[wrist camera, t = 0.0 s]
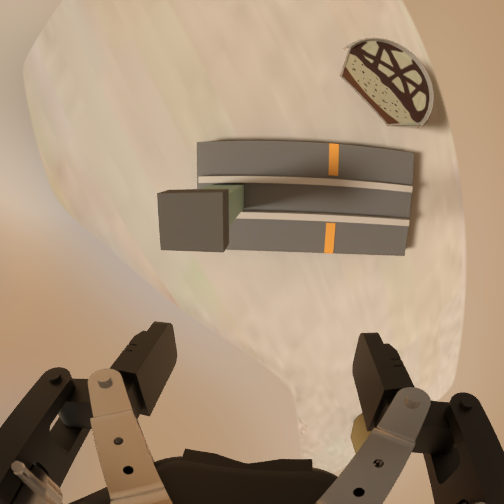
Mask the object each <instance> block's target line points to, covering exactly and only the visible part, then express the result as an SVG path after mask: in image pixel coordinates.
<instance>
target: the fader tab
mask: <svg viewBox="0 0 504 504" xmlns="http://www.w3.org/2000/svg"><path fill="white" fill-rule="evenodd" d="M157 197H158V216H159V231H160V244H161V250H175V251H203V252H224V251H225V249H226V248H227V246H228V244H229V227H230V225H231V224H232V223H233V221H234V220H235V219H236V218H237V216H238V215H239V214H240V213H241V211H242V210H243V209H244V185H210V186H207V187H204V188H201V189H193V190H167V191H164V192H161V193H157Z"/></svg>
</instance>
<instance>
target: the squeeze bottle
mask: <svg viewBox="0 0 504 504" xmlns="http://www.w3.org/2000/svg"><path fill="white" fill-rule="evenodd" d="M371 432H372V431H367V429H366V425H365V421H364V417H363V414H361V415H360V416H358V417H357V418H356V419H355V420H354V424H353V428H352V433H351V440H352V443H353V446H354V450H355V453H357V452H358V450H359V449H360V448H361V446H362V445H363V443H364V442H365V440H366V439H367V438H368V436H369V435H370V433H371Z"/></svg>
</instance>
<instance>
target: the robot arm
mask: <svg viewBox="0 0 504 504" xmlns="http://www.w3.org/2000/svg"><path fill="white" fill-rule="evenodd" d="M176 359H177V350H176V343H175V337H174V331H173V326H172V324H171V323H164V322H156V321H155V322H154V323H153V324H152V325H151V327H150V328H149V329H148V331H142V332H140V333H139V334H138V335H136V336H134V337H133V339H132V340H131V341H130V343H129V345H127V346H126V348H125V350H124V351H123V352H122V353H121V354H120V356H119V357H118V358H117V360H116V361H115V362H114V363H113V365H112V366H111V367H110V369H102V370H98V371H96V372H94V373H93V374H92V375H91V376H90V377H89V379H72V377H71V375H70V372H69V371H68V370H67V369H65V368H60V367H58V368H52V369H50V370H48V371H46V372H45V373H44V374H43V375H42V376H41V377H40V379H39V380H38V381H37V382H36V383H35V385H34V386H33V387H32V388H31V390H30V391H29V392H28V393H27V394H26V396H25V397H24V398H23V399H22V400H21V402H20V403H19V404H18V405H17V407H16V408H15V409H14V411H13V412H12V413H11V414H10V416H9V417H8V418H7V420H6V421H5V422H4V424H3V425H2V426H1V428H0V504H63V503H62V498H63V497H62V492H61V490H60V486H61V484H62V482H63V480H64V478H65V477H66V474H67V473H68V471H69V468H70V467H71V465H72V463H73V461H74V459H75V457H76V455H77V453H78V451H79V449H80V447H81V446H82V444H83V442H84V440H85V438H86V437H87V435H88V433H89V431H90V429H92V431H93V436H94V441H95V445H96V449H97V453H98V457H99V461H100V465H101V468H102V472H103V475H104V478H105V482H106V485H107V487H105V488H103V489H101V490H99V491H97V492H95V493H92V494H90V495H88V496H86V497H84V498H81V499H79V500H76V501H74V502H71V503H69V504H383V502H384V500H385V498H386V497H387V495H388V494H389V492H390V490H391V489H392V487H393V486H394V484H395V482H396V480H397V478H398V477H399V475H400V473H401V472H402V470H403V468H404V466H405V464H406V462H407V460H408V458H409V456H410V454H411V452H415V453H423V455H424V459H425V462H426V466H427V470H428V475H429V479H430V483H431V487H432V492H433V497H434V502H435V504H504V451H503V449H502V447H501V445H500V442H499V440H498V438H497V436H496V434H495V432H494V430H493V427H492V425H491V423H490V421H489V419H488V417H487V415H486V413H485V411H484V409H483V407H482V406H481V404H480V402H479V400H478V399H477V398H476V397H475V396H473V395H471V394H468V393H457V394H455V395H454V396H453V397H452V398H451V400H450V402H449V403H448V402H437V401H431V400H430V397H429V396H428V394H427V393H426V392H424V391H423V390H421V389H419V388H415V387H414V385H413V383H412V381H411V379H410V377H409V374H408V372H407V370H406V368H405V366H404V364H403V362H402V360H400V359H401V358H400V356H399V354H398V352H397V350H396V349H394V348H393V347H392V346H391V345H390V344H383V342H382V339H381V337H380V335H379V334H378V333H361V334H360V336H359V339H358V344H357V348H356V352H355V357H354V361H353V377H354V381H355V385H356V388H357V392H358V396H359V400H360V404H361V408H362V412H363V417H364V421H365V425H366V429H367V431H372V432H371V433H370V435H369V436H368V438H367V439H366V440H365V442H364V443H363V445H362V446H361V448H360V449H359V450H358V452H357V453H356V454H355V456H354V457H353V459H352V460H351V461H350V462H349V464H348V465H347V466H346V468H345V469H344V470H343V472H342V473H341V474H340V475H339V477H337V476H336V475H334V474H332V473H330V472H327V471H324V470H321V469H318V468H313V467H312V459H278V460H272V461H265V462H258V463H250V464H247V463H242V462H239V461H235V460H232V459H229V458H226V457H224V456H220V455H218V454H214V453H208V452H201V451H195V450H190V449H185V451H184V454H183V457H171V458H166V459H163V460H159V461H156V462H155V461H154V459H153V457H152V455H151V452H150V450H149V448H148V445H147V443H146V440H145V438H144V435H143V433H142V430H141V428H140V426H139V423H138V420H137V419H138V417H139V415H140V414H142V415H147V416H150V415H151V413H152V411H153V408H154V407H155V405H156V402H157V400H158V398H159V396H160V394H161V392H162V390H163V388H164V386H165V384H166V382H167V380H168V378H169V376H170V374H171V372H172V370H173V368H174V366H175V364H176ZM57 414H58V415H59V418H58V420H57V422H56V423H55V425H54V426H53V428H52V429H51V431H50V425H51V423H52V422H53V420H54V419H55V417H56V416H57Z"/></svg>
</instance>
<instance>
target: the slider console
mask: <svg viewBox="0 0 504 504" xmlns="http://www.w3.org/2000/svg"><path fill="white" fill-rule="evenodd" d="M413 163H414V153H411V152H404V151H397V150H390V149H382V148H374V147H365V146H355V145H344V144H333V143H317V142H297V141H211V142H197V189H201V188H204V187H207V186H210V185H244V209H243V210H242V211H241V213H240V214H239V215H238V216H237V218H236V219H235V220H234V221H233V223H232V224H231V225H230V227H229V244H228V246H227V248H226V249H227V250H255V251H284V252H312V253H340V254H368V255H395V256H404V255H405V249H406V242H407V234H408V226H409V222H410V220H409V218H410V208H411V196H412V190H413V186H412V183H413Z"/></svg>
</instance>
